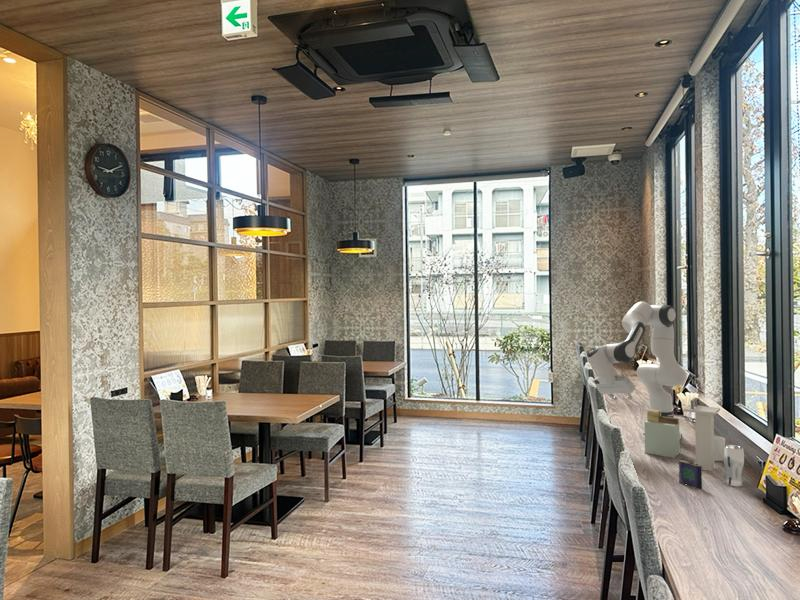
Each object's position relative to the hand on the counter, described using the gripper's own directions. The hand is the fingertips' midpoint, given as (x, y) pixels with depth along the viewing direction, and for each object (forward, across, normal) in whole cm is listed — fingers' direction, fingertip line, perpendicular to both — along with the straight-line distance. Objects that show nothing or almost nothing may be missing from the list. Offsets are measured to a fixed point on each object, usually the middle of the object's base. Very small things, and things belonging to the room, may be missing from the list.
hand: (622, 399), depth 263 cm
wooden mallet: (+15, -14, -1) cm, 20 cm away
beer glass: (+28, -52, +23) cm, 63 cm away
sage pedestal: (+27, -10, +7) cm, 30 cm away
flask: (+18, -45, +36) cm, 60 cm away
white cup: (+37, -28, -3) cm, 47 cm away
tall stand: (+29, -33, +13) cm, 46 cm away
